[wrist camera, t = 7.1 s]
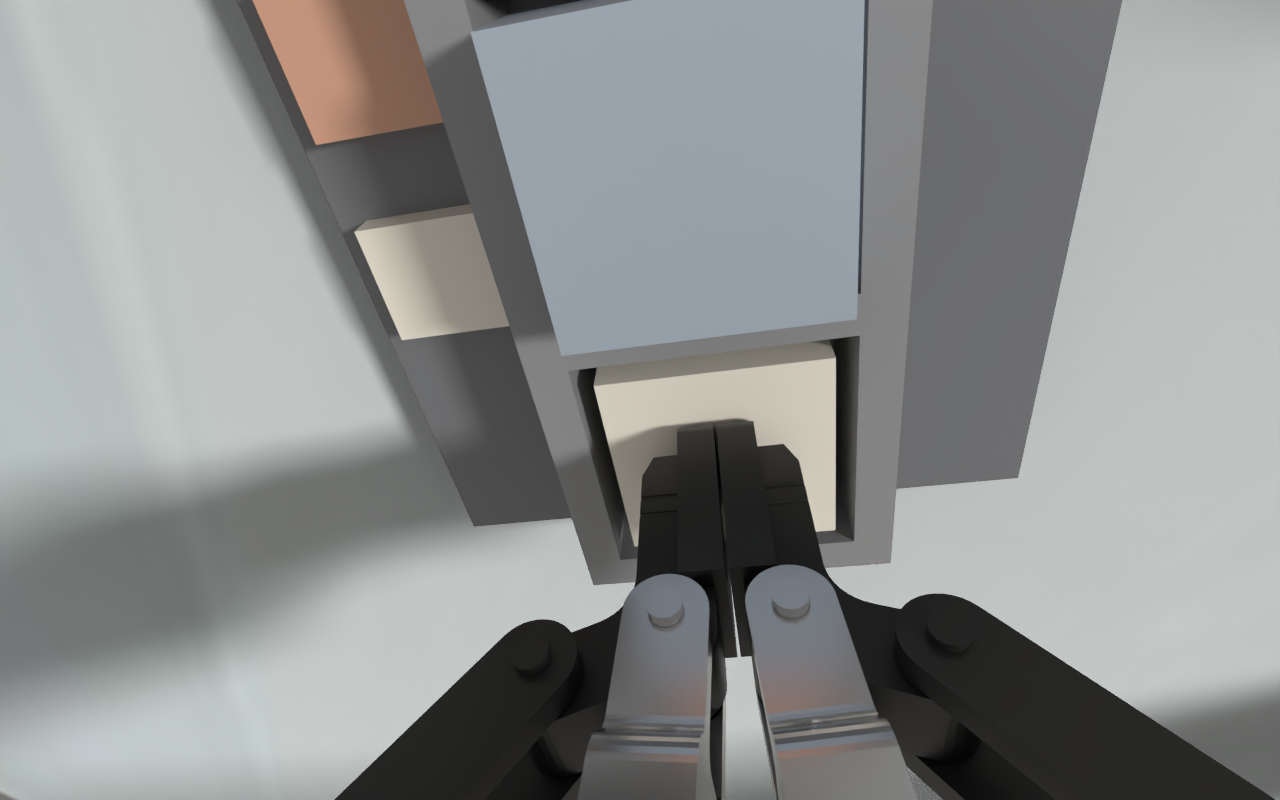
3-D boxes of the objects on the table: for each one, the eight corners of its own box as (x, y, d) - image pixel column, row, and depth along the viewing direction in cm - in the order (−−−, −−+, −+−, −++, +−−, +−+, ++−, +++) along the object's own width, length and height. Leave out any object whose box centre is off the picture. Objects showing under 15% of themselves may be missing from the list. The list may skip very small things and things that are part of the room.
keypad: (1280, -1062, 6) (1796, -1914, 3) (998, 446, 17) (1063, 549, 14) (24, -597, 8) (-330, -886, 5) (484, 495, 19) (450, 595, 16)
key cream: (816, 305, 13) (836, 358, 11) (819, 468, 16) (835, 530, 14) (603, 332, 14) (593, 386, 12) (638, 485, 16) (634, 546, 15)
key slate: (828, -50, 8) (865, -46, 7) (830, 262, 11) (857, 318, 9) (507, 14, 9) (470, 32, 7) (577, 297, 12) (561, 356, 10)
